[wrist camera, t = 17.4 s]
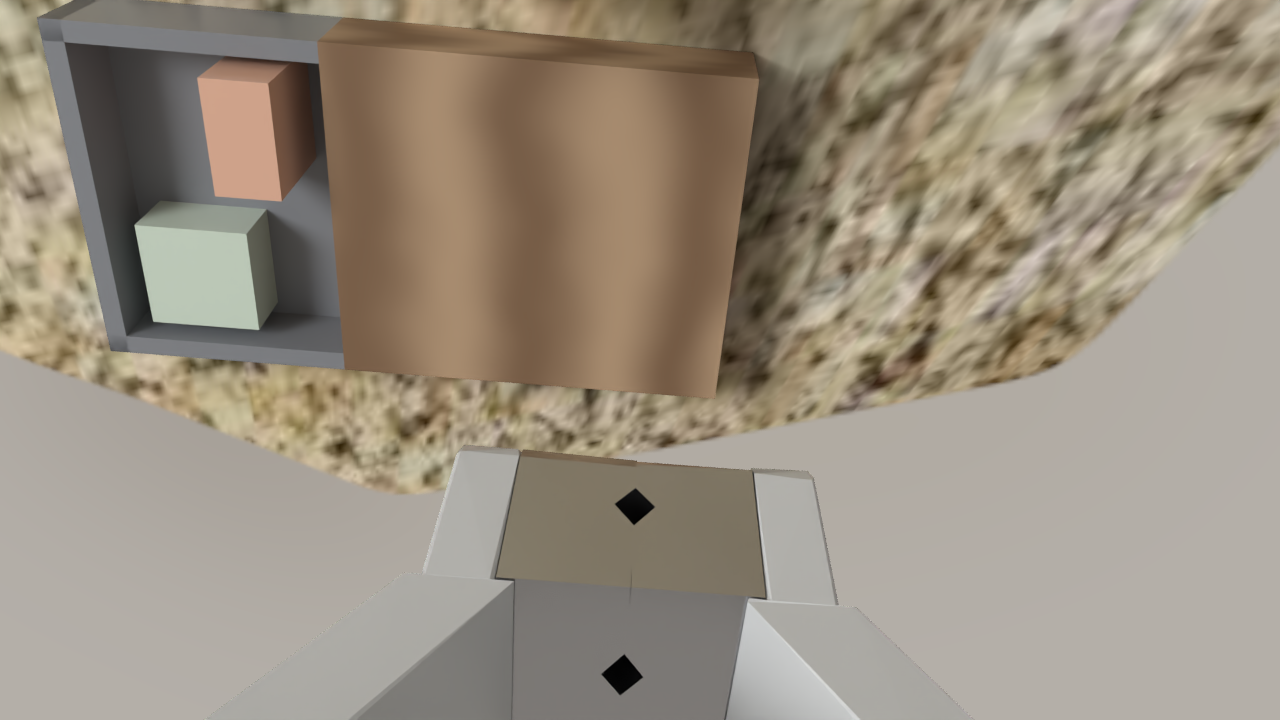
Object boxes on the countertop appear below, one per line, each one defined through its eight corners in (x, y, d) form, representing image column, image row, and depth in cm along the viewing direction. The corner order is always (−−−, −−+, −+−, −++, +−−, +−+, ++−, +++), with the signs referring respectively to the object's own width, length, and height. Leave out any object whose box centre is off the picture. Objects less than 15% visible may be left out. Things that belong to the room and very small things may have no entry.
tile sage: (134, 225, 42) (160, 200, 44) (153, 321, 45) (176, 294, 47) (246, 234, 42) (266, 209, 44) (259, 330, 45) (278, 302, 47)
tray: (343, 17, 41) (317, 41, 38) (364, 328, 48) (344, 369, 45) (83, -5, 40) (37, 17, 37) (145, 311, 48) (110, 350, 45)
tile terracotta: (268, 83, 37) (197, 77, 37) (281, 201, 39) (215, 196, 39) (306, 48, 41) (241, 43, 41) (316, 158, 43) (255, 153, 43)
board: (752, 52, 41) (759, 79, 38) (712, 356, 48) (714, 398, 45) (343, 17, 41) (317, 41, 38) (364, 328, 48) (344, 369, 45)
